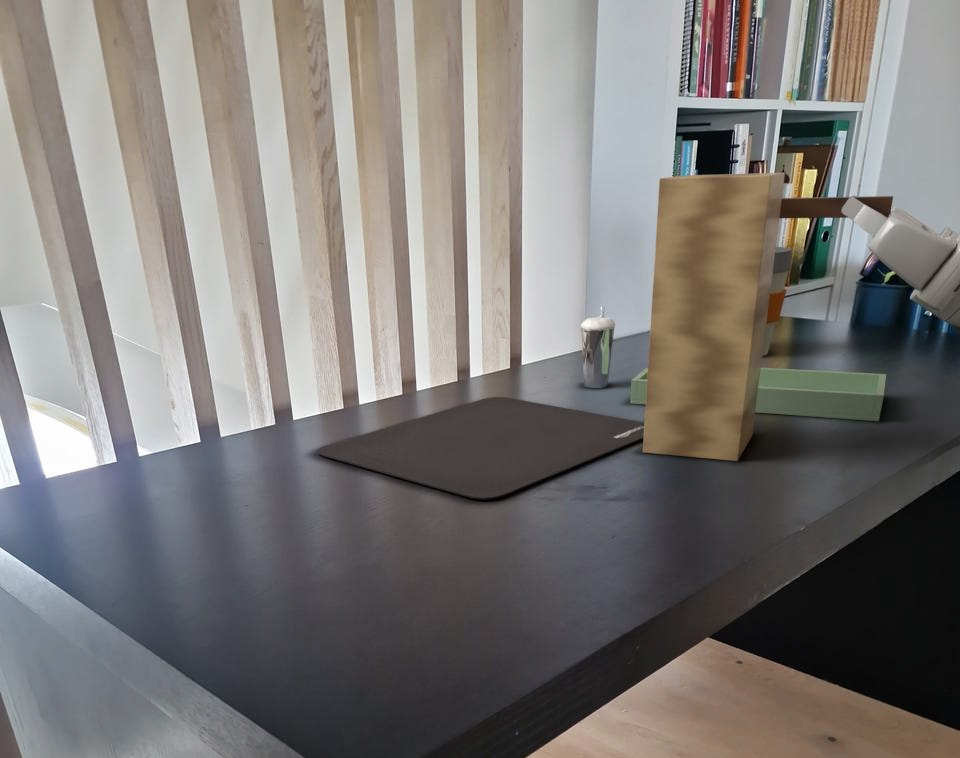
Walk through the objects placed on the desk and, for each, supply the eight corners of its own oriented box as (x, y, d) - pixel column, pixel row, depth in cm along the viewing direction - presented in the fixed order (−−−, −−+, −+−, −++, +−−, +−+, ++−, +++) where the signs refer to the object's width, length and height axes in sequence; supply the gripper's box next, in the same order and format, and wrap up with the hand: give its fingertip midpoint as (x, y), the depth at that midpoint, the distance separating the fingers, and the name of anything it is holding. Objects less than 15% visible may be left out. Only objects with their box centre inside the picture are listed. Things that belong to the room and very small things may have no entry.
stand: (752, 435, 96) (785, 172, 84) (737, 461, 88) (771, 175, 76) (664, 428, 100) (682, 175, 87) (642, 452, 92) (659, 178, 79)
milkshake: (616, 381, 122) (619, 306, 117) (608, 390, 117) (611, 313, 112) (584, 380, 123) (586, 306, 118) (576, 388, 119) (577, 312, 114)
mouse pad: (487, 503, 79) (487, 501, 79) (308, 452, 95) (308, 450, 95) (668, 428, 99) (668, 426, 99) (495, 396, 115) (495, 395, 115)
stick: (889, 216, 96) (893, 195, 95) (889, 217, 94) (893, 196, 93) (676, 218, 105) (677, 200, 104) (672, 219, 103) (673, 201, 102)
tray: (881, 398, 109) (886, 374, 107) (878, 421, 100) (883, 395, 98) (652, 384, 120) (653, 361, 118) (630, 403, 111) (631, 380, 109)
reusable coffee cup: (685, 356, 136) (694, 252, 128) (715, 342, 144) (725, 245, 137) (764, 363, 129) (778, 254, 122) (790, 348, 138) (804, 246, 131)
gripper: (968, 235, 101) (870, 172, 102) (978, 252, 85) (861, 177, 86) (928, 284, 105) (834, 223, 106) (931, 309, 89) (819, 236, 90)
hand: (846, 202), depth 96 cm, fingers closed on stick, 2 cm apart
